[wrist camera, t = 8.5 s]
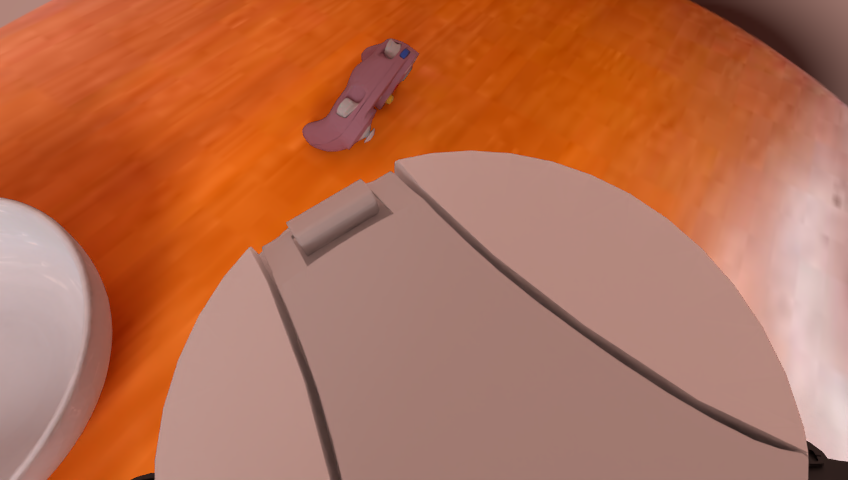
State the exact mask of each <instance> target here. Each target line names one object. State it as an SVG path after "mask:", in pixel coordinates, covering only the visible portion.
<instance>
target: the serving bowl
mask: <svg viewBox="0 0 848 480" xmlns="http://www.w3.org/2000/svg"><path fill="white" fill-rule="evenodd" d="M111 347H112V319H111V311H110V305H109V300H108V296H107V293H106V290H105V287H104V284H103V282H102V279H101V277H100V275H99V273H98V271H97V269H96V267H95V266H94V264H93V262H92V260H91V259H90V258H89V256H88V255H87V254H86V252H85V251H84V249H83V248H82V247H81V246H80V245H79V243H78V242H77V241H76V240H75V239H74V238H73V237H72V236H71V235H70V234H69V233H68V232H67V231H66V230H65V229H64V228H63V227H62V226H61V225H60V224H59V223H57V222H56V221H55V220H54V219H53V218H51V217H49V216H48V215H46V214H45V213H43V212H42V211H40V210H38V209H36V208H34V207H32V206H30V205H27V204H24V203H22V202H19V201H15V200H11V199H7V198H1V197H0V480H47V479H48V478H49V477H50V475H51V474H52V473H53V472H54V471H55V470H56V468H57V467H58V466H59V465H60V464H61V462H62V461H63V460H64V459H65V457H66V456H67V454H68V453H69V452H70V450H71V449H72V447H73V446H74V444H75V443H76V441H77V440H78V438H79V437H80V435H81V434H82V432H83V430H84V428H85V427H86V425H87V423H88V421H89V419H90V417H91V415H92V413H93V411H94V409H95V407H96V404H97V402H98V399H99V397H100V394H101V391H102V389H103V386H104V383H105V379H106V376H107V371H108V366H109V361H110V355H111Z"/></svg>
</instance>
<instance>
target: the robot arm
mask: <svg viewBox="0 0 848 480" xmlns="http://www.w3.org/2000/svg"><path fill="white" fill-rule="evenodd" d="M806 442H807V448H808V459H809V462H808V480H848V462H846V461H838V460H832V459H827V457H826V456H825V454H824V453H823V452H822V451H821V450H819V449H818V448H817V447H815V446H814V445H813V444H811V443H810V442H808V441H806ZM132 480H155V473H150V474H146V475H142V476H139V477H136V478H134V479H132Z"/></svg>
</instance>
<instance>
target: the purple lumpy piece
mask: <svg viewBox="0 0 848 480" xmlns="http://www.w3.org/2000/svg"><path fill="white" fill-rule="evenodd" d="M418 55H419V53H418V52H417V51H415V50H414V49H413V48H411V47H410V46H409V45H407V44H405V43H404V42H401V41H398V40H395V39H387V40H386V41H384V42H383V43H381V44H378V45H374V46H371V47H368V48H366V49H365V50H364V51H363V53H362V55H361V56H362V62H361V63H360V64H359V65H357V66H356V67H355V69H354V70H353V72H352V74H351V76H350V78H349V81H348V85H347V87H346V88H345V90H344V91H343V93H342V94H341V95H340V97H339V98H338V100H337V101H336V103H335V104H334V106H333V108H332V109H331V111H330V113H329V114H328V115H327V116H326V117H325V118H324V119H322V120H319V121H315V122H311V123H308V124H307V125H306V126H305V127H304V128H303V136H304V137H305V139H306V141H307V142H308V143H309V144H310V145H312V146H313V147H315V148H318V149H321V150H324V151H340V150H344V149H346V148H347V149H350V148H351V147H352V146H353V145H354V143H356V142H358V141H359V140H362V139H364V138H365V137H366V140H365V141H364V143H366V142H368V141H370V140H371V138H372V137H373V135H374V132H375V129H373V130H372V131H371V132H370V128H371V123H372V119H373V118H374V115H375V113H376V110H375V109H374V106H375V107H376V108H378V109H379V110H380V109H381V108H382V107H383V106H384V104H385V103H387V104H391V103H392V101H393V100H394V96H393V95H391V94H392V93H393V91H394V90H395V89H396V87H397V86H398V84H399V83H400V82H401V81H404V79H405V78H406V77H407V75H408V74H409V72H410V71H411V69H412V65H413V64H414V62H415V60H416V58H417V57H418Z"/></svg>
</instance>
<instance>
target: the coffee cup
mask: <svg viewBox="0 0 848 480" xmlns="http://www.w3.org/2000/svg"><path fill="white" fill-rule="evenodd" d="M286 223H287V225H288V227H289V228H288V229H287V230H286V231H284V232H283V233H282V234H281V235H280V236H279V237H278V238H277V239H275V240H273V241H272V242H270V243H268V244H267V245H265V246H263V247H262V250H263V251H262V252H261V253H260V254H258V253H257V252H256V251H255V250H254V249H253V248H252V247H249V248H248V249H247V250H246V252H245V253H244V254H243V255H242V256H241V257H240V259H239V260H238V261H237V262H236V263H235V265H234V266H233V267H232V268H231V269H230V270H229V272H228V273H227V274H226V275H225V276H224V278H223V279H222V281H221V282H220V284H219V285H218V287H217V288H216V290H215V291H214V293H213V295H212V296H211V298H210V299H209V301H208V302H207V304H206V305H205V307H204V309H203V310H202V312H201V313H200V315H199V317H198V319H197V321H196V323H195V325H194V327H193V329H192V332H191V334H190V336H189V338H188V340H187V342H186V344H185V347H184V349H183V351H182V353H181V355H180V357H179V360H178V363H177V366H176V369H175V372H174V375H173V379H172V382H171V385H170V388H169V392H168V395H167V398H166V401H165V405H164V408H163V414H162V420H161V426H160V432H159V438H158V445H157V451H156V457H155V480H808V462H809V459H808V448H807V442H806V437H805V431H804V426H803V423H802V420H801V417H800V414H799V411H798V408H797V405H796V402H795V399H794V396H793V393H792V390H791V387H790V384H789V381H788V378H787V375H786V373H785V371H784V369H783V367H782V365H781V363H780V361H779V359H778V357H777V355H776V353H775V351H774V349H773V347H772V345H771V343H770V341H769V339H768V337H767V335H766V333H765V331H764V329H763V327H762V325H761V324H760V322H759V321H758V319H757V318H756V316H755V315H754V313H753V312H752V311H751V309H750V308H749V306H748V305H747V303H746V302H745V300H744V299H743V297H742V296H741V294H740V293H739V291H738V290H737V288H736V287H735V285H734V284H733V283H732V282H731V281H730V280H729V279H728V277H727V276H726V275H725V274H724V273H723V272H722V271H721V270H720V268H719V267H718V266H717V265H716V264H715V263H714V262H713V261H712V259H711V258H710V257H709V256H708V255H707V254H706V253H705V252H704V250H703V249H702V248H701V247H699V246H698V245H697V244H696V243H695V242H694V241H692V240H691V239H690V238H689V237H688V236H687V235H686V234H684V233H683V232H682V231H681V230H680V229H679V228H677V227H676V226H675V225H674V224H673V223H672V222H671V221H669V220H668V219H667V218H666V217H664V216H663V215H661V214H660V213H658V212H656V211H655V210H653V209H652V208H650V207H649V206H647V205H646V204H644V203H643V202H641V201H640V200H638V199H637V198H635V197H634V196H632V195H631V194H629V193H627V192H625V191H623V190H621V189H619V188H617V187H615V186H613V185H611V184H609V183H607V182H605V181H603V180H601V179H599V178H596V177H594V176H592V175H590V174H587V173H584V172H581V171H578V170H575V169H572V168H569V167H566V166H564V165H561V164H558V163H555V162H552V161H547V160H542V159H537V158H532V157H527V156H522V155H517V154H512V153H498V152H483V151H459V152H443V153H430V154H425V155H420V156H415V157H410V158H405V159H400V160H398V161H395V174H394V173H392V172H391V171H390V172H388V173H387V174H385V175H383V176H382V177H380V178H378V179H376V180H375V181H373V182H370V183H367V184H366V183H364V182H363V181H362V180H361V179H360V180H358V181H356V182H354V183H353V184H351V185H349V186H348V187H346V188H344V189H343V190H341V191H339V192H337V193H336V194H334V195H332V196H331V197H329V198H327V199H326V200H324V201H322V202H320V203H319V204H317V205H315V206H314V207H312V208H310V209H308V210H307V211H305V212H303V213H302V214H300V215H298V216H297V217H295V218H293V219H291V220H290V221H288V222H286Z"/></svg>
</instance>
